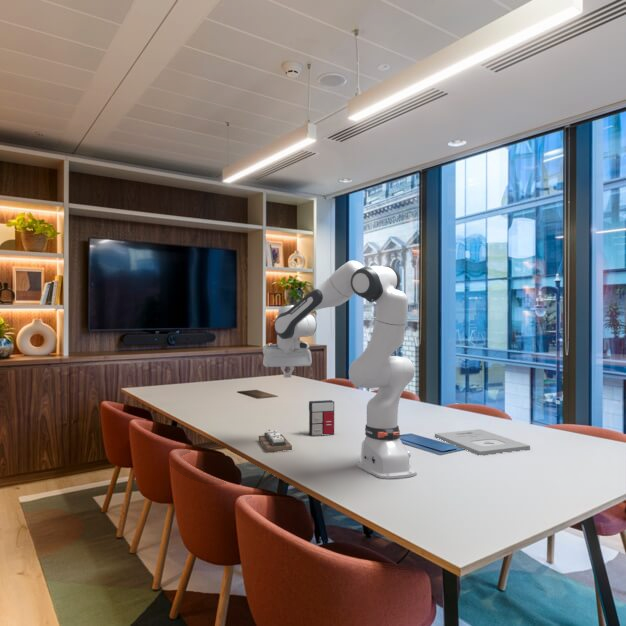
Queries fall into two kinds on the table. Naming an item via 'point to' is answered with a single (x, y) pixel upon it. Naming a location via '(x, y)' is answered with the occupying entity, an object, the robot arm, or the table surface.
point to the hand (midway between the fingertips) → (287, 377)
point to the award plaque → (481, 442)
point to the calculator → (321, 417)
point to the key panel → (274, 444)
